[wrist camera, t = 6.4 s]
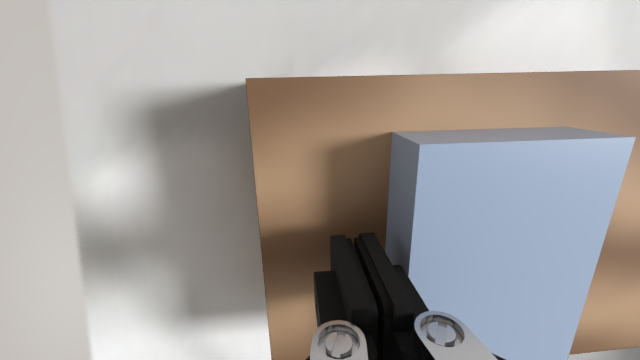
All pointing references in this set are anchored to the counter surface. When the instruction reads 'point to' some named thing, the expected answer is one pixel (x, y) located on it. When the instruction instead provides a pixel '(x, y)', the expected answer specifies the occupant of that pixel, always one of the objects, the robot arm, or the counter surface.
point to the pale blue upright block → (505, 227)
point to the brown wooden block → (374, 172)
